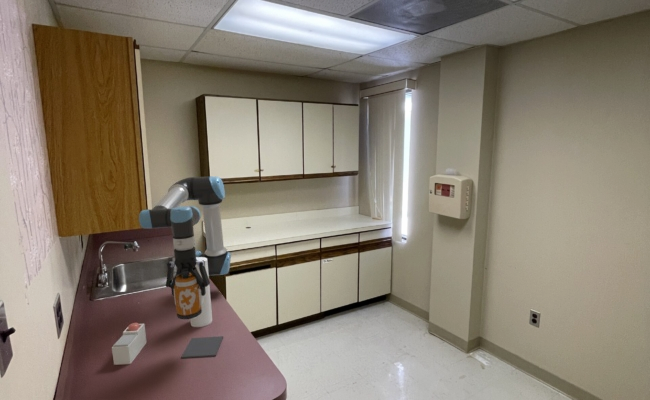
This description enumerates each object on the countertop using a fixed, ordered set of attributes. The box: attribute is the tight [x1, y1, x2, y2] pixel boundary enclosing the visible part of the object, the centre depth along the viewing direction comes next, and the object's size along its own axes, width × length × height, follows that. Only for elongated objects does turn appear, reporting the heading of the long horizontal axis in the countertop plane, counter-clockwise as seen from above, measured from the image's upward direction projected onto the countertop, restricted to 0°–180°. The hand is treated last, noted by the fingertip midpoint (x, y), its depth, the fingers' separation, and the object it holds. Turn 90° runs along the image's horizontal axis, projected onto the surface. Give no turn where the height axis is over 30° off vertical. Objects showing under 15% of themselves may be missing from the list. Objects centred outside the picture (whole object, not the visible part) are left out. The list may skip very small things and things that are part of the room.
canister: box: [174, 268, 202, 320], centre depth 134 cm, size 9×11×20 cm
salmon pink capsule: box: [127, 322, 140, 331], centre depth 139 cm, size 4×4×8 cm
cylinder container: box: [189, 257, 213, 328], centre depth 157 cm, size 9×9×30 cm
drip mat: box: [180, 335, 224, 359], centre depth 139 cm, size 13×13×1 cm
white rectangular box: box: [111, 323, 147, 366], centre depth 136 cm, size 14×6×8 cm, turn 4°
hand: (189, 303), depth 135 cm, fingers closed on canister, 9 cm apart
